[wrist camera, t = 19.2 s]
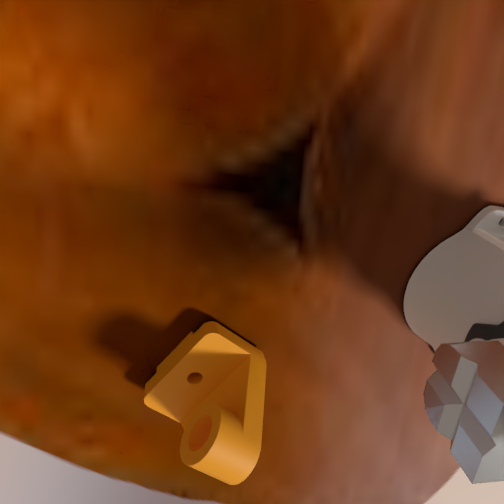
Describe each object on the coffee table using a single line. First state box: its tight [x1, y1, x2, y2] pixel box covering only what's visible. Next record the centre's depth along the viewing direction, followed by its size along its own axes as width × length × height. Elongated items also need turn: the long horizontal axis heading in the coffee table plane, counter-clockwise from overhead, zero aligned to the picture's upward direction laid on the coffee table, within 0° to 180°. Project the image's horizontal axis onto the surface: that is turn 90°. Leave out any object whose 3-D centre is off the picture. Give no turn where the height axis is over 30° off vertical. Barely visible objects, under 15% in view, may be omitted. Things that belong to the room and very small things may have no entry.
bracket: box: [144, 321, 267, 485], centre depth 42 cm, size 11×7×12 cm, turn 137°
